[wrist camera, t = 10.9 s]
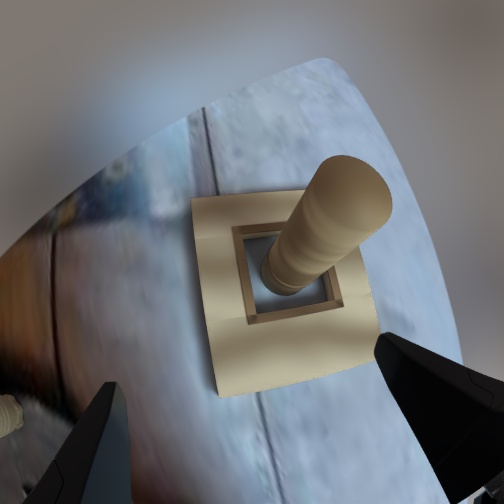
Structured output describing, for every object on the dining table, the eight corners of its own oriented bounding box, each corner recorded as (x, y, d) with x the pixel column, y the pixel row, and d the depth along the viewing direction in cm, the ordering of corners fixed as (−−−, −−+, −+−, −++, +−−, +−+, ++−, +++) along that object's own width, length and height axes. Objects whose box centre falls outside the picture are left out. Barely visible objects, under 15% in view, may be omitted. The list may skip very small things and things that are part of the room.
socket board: (378, 357, 23) (386, 356, 22) (218, 396, 20) (219, 398, 19) (335, 194, 28) (340, 187, 27) (190, 205, 26) (190, 197, 24)
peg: (312, 292, 25) (404, 228, 13) (265, 300, 24) (329, 235, 12) (301, 246, 26) (375, 155, 14) (255, 252, 25) (303, 153, 13)
